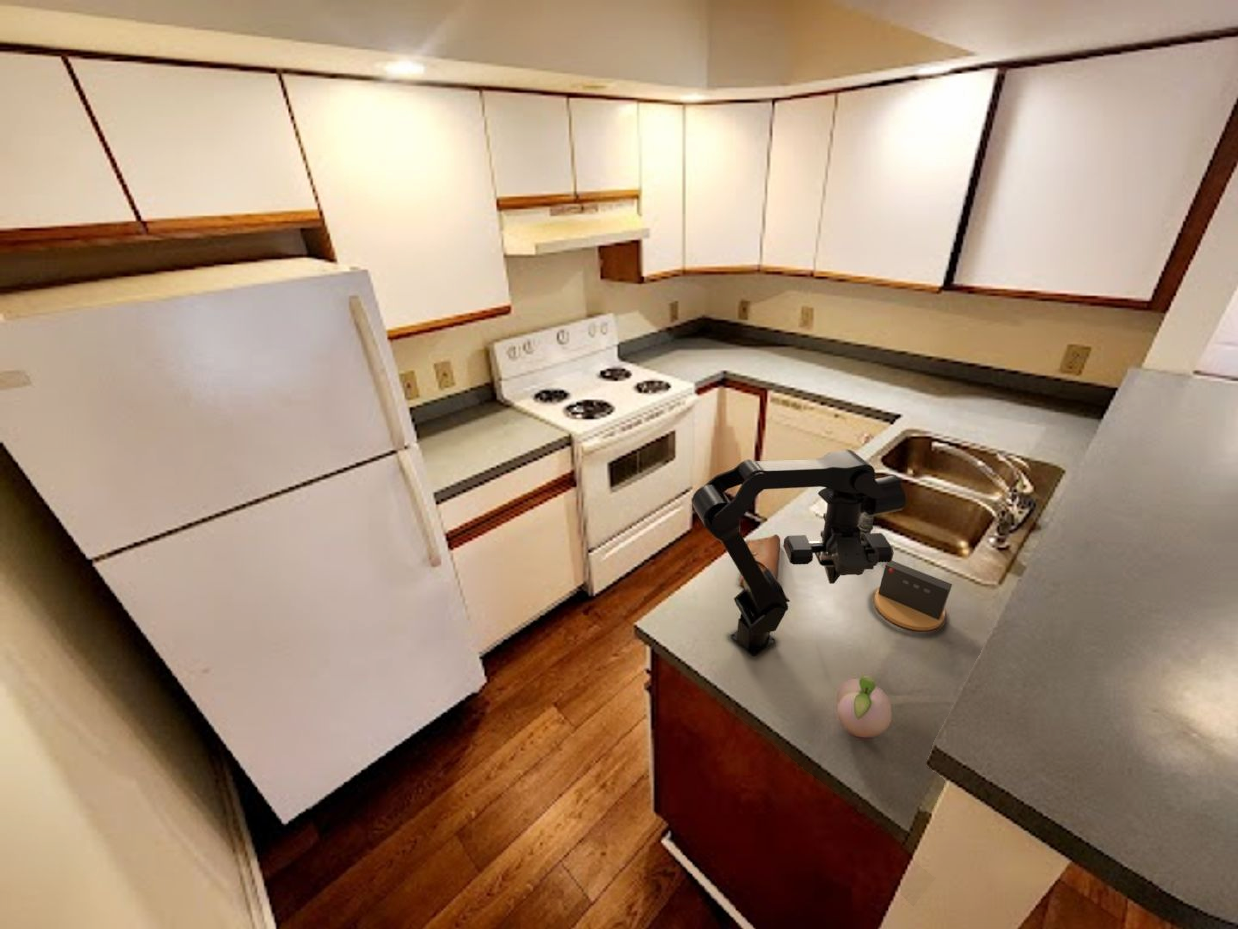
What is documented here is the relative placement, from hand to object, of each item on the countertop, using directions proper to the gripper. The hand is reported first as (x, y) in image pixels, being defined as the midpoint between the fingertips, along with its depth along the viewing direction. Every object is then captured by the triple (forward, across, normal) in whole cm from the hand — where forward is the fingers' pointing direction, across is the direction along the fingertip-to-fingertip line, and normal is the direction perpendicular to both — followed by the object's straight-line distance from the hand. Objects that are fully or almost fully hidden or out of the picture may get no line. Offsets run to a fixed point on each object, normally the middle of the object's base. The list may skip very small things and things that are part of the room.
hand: (830, 582), depth 105 cm
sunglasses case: (+12, -9, +20) cm, 25 cm away
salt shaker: (+12, +16, +25) cm, 32 cm away
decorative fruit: (+12, -1, -23) cm, 26 cm away
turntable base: (+12, +19, +4) cm, 23 cm away
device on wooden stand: (+11, +19, +4) cm, 22 cm away
